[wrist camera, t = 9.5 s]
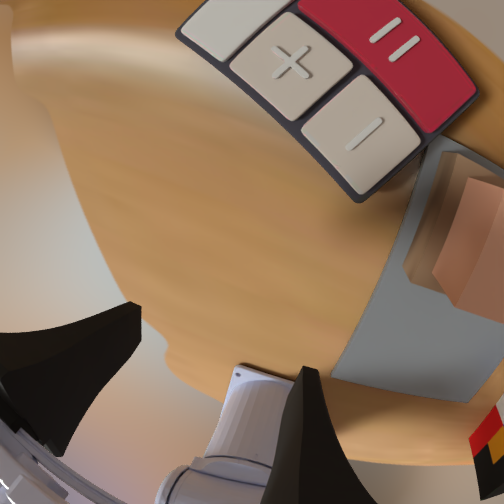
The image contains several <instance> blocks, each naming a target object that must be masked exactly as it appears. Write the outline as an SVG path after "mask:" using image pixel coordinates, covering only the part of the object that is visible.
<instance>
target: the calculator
mask: <svg viewBox="0 0 504 504" xmlns="http://www.w3.org/2000/svg"><path fill="white" fill-rule="evenodd" d="M175 36H176V38H177V39H178V40H180V41H181V42H182V43H184V44H185V45H187V46H188V47H189V48H191V49H192V50H193V51H195V52H196V53H197V54H199V55H200V56H201V57H203V58H204V59H205V60H206V61H208V62H209V63H210V64H212V65H213V66H214V67H215V68H217V69H218V70H219V71H220V72H221V73H223V74H224V75H225V76H226V77H228V78H229V79H230V80H231V81H232V82H234V83H235V84H236V85H237V86H238V87H239V88H241V89H242V90H243V91H244V92H245V93H246V94H248V95H249V96H250V97H251V98H252V99H253V100H254V101H255V102H257V103H258V104H259V105H260V106H261V107H262V108H263V109H264V110H265V111H267V112H268V113H269V114H270V115H271V116H272V117H273V118H274V119H275V120H276V121H277V122H278V123H279V124H280V125H281V126H282V127H284V128H285V129H286V130H287V131H288V132H289V133H290V134H291V135H292V136H293V137H294V138H295V139H296V140H297V141H298V142H299V143H300V144H301V145H302V146H303V147H304V148H305V149H306V150H307V151H308V152H309V153H310V154H311V155H312V156H313V158H314V159H315V160H316V161H317V162H318V163H319V164H320V165H321V166H322V167H323V168H324V169H325V170H326V171H327V172H328V173H329V175H330V176H331V177H332V178H333V179H334V180H335V181H336V182H337V183H338V184H339V186H340V187H341V188H342V189H343V190H344V191H345V192H346V194H347V195H348V196H349V197H350V198H351V199H352V200H353V201H354V202H355V203H363V202H364V201H365V200H367V199H368V198H369V197H370V196H371V195H373V194H374V193H375V192H376V191H377V190H378V189H379V188H381V187H382V186H383V185H384V184H385V183H386V182H387V181H389V180H390V179H391V178H392V177H393V176H394V175H395V174H396V173H398V172H399V171H400V170H401V169H402V168H403V167H404V166H405V165H407V164H408V163H409V162H410V161H411V160H412V159H413V158H414V157H415V156H417V155H418V154H419V153H420V152H421V151H422V150H423V149H424V148H425V147H426V146H428V145H429V144H430V143H431V142H432V141H433V140H434V139H435V138H436V137H437V136H438V135H439V134H441V133H442V132H443V131H444V130H445V129H446V128H447V127H448V126H449V125H450V124H451V123H452V122H453V121H454V120H456V119H457V118H458V117H459V116H460V115H461V114H462V113H463V112H464V111H465V110H466V109H467V108H468V107H469V106H470V105H471V104H472V103H473V102H474V101H475V100H476V99H477V98H478V97H479V95H480V92H479V89H478V87H477V86H476V84H475V83H474V81H473V80H472V79H471V77H470V76H469V75H468V73H467V72H466V71H465V69H464V68H463V67H462V65H461V64H460V63H459V62H458V60H457V59H456V58H455V57H454V56H453V54H452V53H451V52H450V51H449V50H448V48H447V47H446V46H445V45H444V44H443V43H442V42H441V41H440V39H439V38H438V37H437V36H436V35H435V34H434V33H433V32H432V31H431V30H430V29H429V28H428V27H427V26H426V25H425V24H424V23H423V22H422V21H421V20H420V19H419V18H418V17H417V16H416V15H415V14H414V13H413V12H412V11H411V10H410V9H409V8H408V7H407V6H406V5H404V4H403V3H402V2H401V1H400V0H205V1H204V2H203V3H202V4H201V5H200V6H199V7H198V8H197V9H196V10H195V11H194V12H193V13H192V14H191V15H190V16H189V17H188V18H187V19H186V20H185V21H184V22H183V23H182V25H181V26H180V27H179V28H178V29H177V30H176V32H175Z"/></svg>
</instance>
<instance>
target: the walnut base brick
mask: <svg viewBox="0 0 504 504" xmlns="http://www.w3.org/2000/svg"><path fill="white" fill-rule="evenodd" d="M468 177H470V178H473V179H476V180H479V181H483V182H486V183H489V184H491V185H494V186H497V187H500V188H503V189H504V179H502V178H501V177H499V176H497V175H496V174H494V173H492V172H491V171H489V170H487V169H486V168H484V167H482V166H480V165H479V164H477V163H475V162H473V161H471V160H470V159H468V158H466V157H464V156H462V155H460V154H458V153H451V152H442V153H441V157H440V160H439V164H438V168H437V171H436V174H435V178H434V181H433V184H432V187H431V191H430V194H429V197H428V200H427V203H426V206H425V208H424V211H423V214H422V217H421V220H420V222H419V225H418V228H417V230H416V233H415V236H414V238H413V241H412V243H411V246H410V248H409V251H408V253H407V255H406V258H405V260H404V262H403V265H402V267H403V269H404V271H405V273H406V275H407V277H408V279H409V280H410V282H411V283H413V284H416V285H419V286H422V287H425V288H428V289H430V290H433V291H436V292H439V293H442V294H445V295H446V293H445V292H444V290H443V289H442V287H441V286H440V284H439V283H438V281H437V280H436V278H435V277H434V275H433V274H432V271H433V269H434V266H435V264H436V262H437V260H438V258H439V255H440V253H441V251H442V248H443V246H444V244H445V241H446V239H447V236H448V234H449V231H450V229H451V226H452V223H453V221H454V218H455V215H456V212H457V210H458V207H459V204H460V201H461V198H462V195H463V192H464V189H465V186H466V182H467V179H468Z"/></svg>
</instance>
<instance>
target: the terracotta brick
mask: <svg viewBox="0 0 504 504" xmlns="http://www.w3.org/2000/svg"><path fill="white" fill-rule="evenodd" d="M432 274H433V275H434V277H435V278H436V280H437V281H438V283H439V284H440V286H441V287H442V289H443V290H444V292H445V293H446V295H447V296H448V298H449V299H450V301H451V303H452V304H453V306H454V307H455V308H458V309H461V310H464V311H467V312H470V313H472V314H475V315H478V316H481V317H484V318H487V319H490V320H493V321H496V322H499V323H502V324H504V189H503V188H500V187H497V186H494V185H491V184H489V183H486V182H483V181H479V180H476V179H473V178H470V177H468V179H467V182H466V186H465V189H464V192H463V195H462V198H461V201H460V204H459V207H458V210H457V212H456V215H455V218H454V221H453V223H452V226H451V229H450V231H449V234H448V236H447V239H446V241H445V244H444V246H443V248H442V251H441V253H440V255H439V258H438V260H437V262H436V264H435V266H434V269H433V271H432Z"/></svg>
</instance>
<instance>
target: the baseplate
mask: <svg viewBox="0 0 504 504" xmlns="http://www.w3.org/2000/svg"><path fill="white" fill-rule="evenodd" d="M442 152H451V153H458V154H460V155H462V156H464V157H466V158H468V159H470V160H471V161H473V162H475V163H477V164H479V165H480V166H482V167H484V168H486V169H487V170H489V171H491V172H492V173H494V174H496V175H497V176H499V177H501V178H502V179H504V170H503V169H502V168H500V167H499V166H497V165H496V164H494V163H492V162H491V161H489V160H487V159H486V158H484V157H482V156H480V155H479V154H477V153H475V152H473V151H471V150H470V149H468V148H466V147H464V146H462V145H460V144H458V143H456V142H455V141H453V140H451V139H449V138H447V137H444V136H442V135H440V134H439V135H438V136H437V137H436V138H435V139H434V140H433V141H432V142H431V143H430V144H429V145H428V146H426V148H425V151H424V155H423V159H422V162H421V166H420V169H419V173H418V176H417V179H416V182H415V186H414V189H413V192H412V195H411V198H410V201H409V204H408V207H407V210H406V213H405V215H404V218H403V221H402V224H401V226H400V229H399V232H398V234H397V237H396V240H395V242H394V245H393V247H392V250H391V252H390V255H389V257H388V259H387V262H386V264H385V267H384V269H383V271H382V274H381V276H380V278H379V280H378V283H377V285H376V287H375V289H374V291H373V294H372V296H371V298H370V300H369V302H368V304H367V306H366V308H365V310H364V313H363V315H362V317H361V319H360V321H359V323H358V325H357V326H356V328H355V330H354V332H353V334H352V336H351V338H350V340H349V342H348V344H347V346H346V347H345V349H344V351H343V353H342V355H341V356H340V358H339V360H338V362H337V364H336V365H335V367H334V369H333V370H332V372H331V377H332V378H336V379H340V380H344V381H348V382H352V383H356V384H361V385H365V386H370V387H374V388H379V389H384V390H388V391H393V392H399V393H404V394H409V395H415V396H421V397H427V398H433V399H440V400H447V401H455V402H463V403H468V402H469V401H470V400H471V399H472V397H473V396H474V395H475V394H476V393H477V392H478V390H479V389H480V388H481V387H482V385H483V384H484V383H485V382H486V381H487V379H488V378H489V377H490V375H491V374H492V373H493V371H494V370H495V369H496V367H497V366H498V365H499V363H500V362H501V361H502V359H503V358H504V324H502V323H499V322H496V321H493V320H490V319H487V318H484V317H481V316H478V315H475V314H472V313H470V312H467V311H464V310H461V309H458V308H455V307H454V306H453V304H452V303H451V301H450V299H449V298H448V296H447V295H445V294H442V293H439V292H436V291H433V290H430V289H428V288H425V287H422V286H419V285H416V284H413V283H411V282H410V280H409V279H408V277H407V275H406V273H405V271H404V269H403V267H402V265H403V262H404V260H405V258H406V255H407V253H408V251H409V248H410V246H411V243H412V241H413V238H414V236H415V233H416V230H417V228H418V225H419V222H420V220H421V217H422V214H423V211H424V208H425V206H426V203H427V200H428V197H429V194H430V191H431V187H432V184H433V181H434V178H435V174H436V171H437V168H438V164H439V160H440V157H441V153H442Z"/></svg>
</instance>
